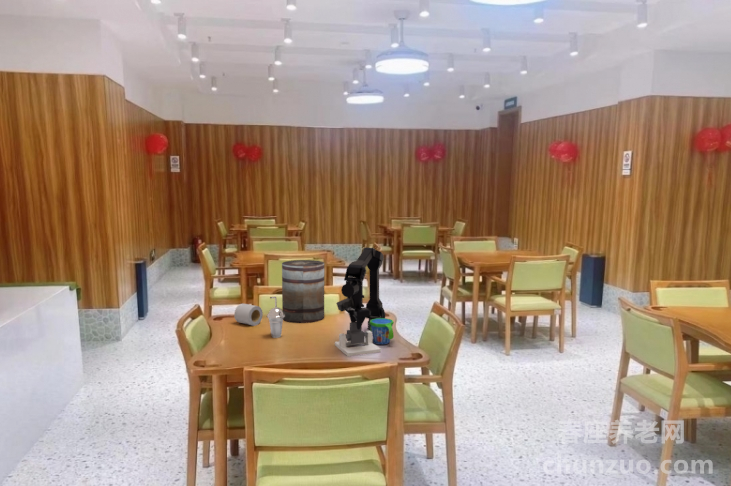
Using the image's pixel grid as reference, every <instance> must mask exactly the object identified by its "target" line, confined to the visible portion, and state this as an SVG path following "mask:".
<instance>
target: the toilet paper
mask: <svg viewBox="0 0 731 486" xmlns="http://www.w3.org/2000/svg"><path fill="white" fill-rule="evenodd" d="M233 316H234V317H233V318H234V320H235V321H236V323H239V324H245V325H248V326H253V327H254V326H258V325H259V324H260V323H261V321H262V319H263V310H262V307H260V306H259V305H254V304H253V305H252V304H248V303H240V304H238V305H237V306H236V308H235V310H234V314H233Z"/></svg>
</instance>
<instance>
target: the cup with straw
mask: <svg viewBox="0 0 731 486" xmlns="http://www.w3.org/2000/svg"><path fill="white" fill-rule="evenodd" d="M269 298H270V299H274V307H273V308H271V309H270V310H269V311H268V313H267V316H266V317H267V318H268V322H269V327H270V335H271V338H273V339H275V338H276V339H279V338H281V337H282V331H283V330H282V329H283V323H284V320H283V318H284V317H285V314H284V313H283V311H282V308H280V307H277V303H278V301H277V296H269Z"/></svg>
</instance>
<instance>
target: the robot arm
mask: <svg viewBox="0 0 731 486" xmlns="http://www.w3.org/2000/svg"><path fill="white" fill-rule="evenodd" d="M362 250H363V251H362V252H361V254H360V255H359V257H357V259H356V260H354V261H352V262H350V263H349V264H348V266H347V267H346V271H345V275H344V279H343V281H345V284H343V285H342V287H341V291H340V292H341V294H342V296H344V297H346V298H344V299H342V300H339V301H337V302H336V306H337V308H338V309H337V310H338V311H340V312H346V313H347V314H348V316H349V319H350V323H351V322H356V324H357V329H358V330H359V329H360V328H361V326H362V327H363V324H364V322H365V320H366V319H368V321H367V328H366V329H367V331H371V330H370V327H371V325H370V320H372V319H376V318H386V312H385V310H384V307H383V306H384V305H383V302H382V301H381V299H380V268H381V267H382V265H383V261H384V253H382V251H380V250H378V249H376V248H374V247H368V246H367V247H363V249H362ZM366 267H367V269H368V270H369V299H368V301H367V302H366V305H365V304H363V299H365V295H364V294H363V287H364V286H363V285H364V284H363V283H364V280H365V277H366V274H367V269H366Z"/></svg>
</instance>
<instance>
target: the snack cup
mask: <svg viewBox="0 0 731 486" xmlns="http://www.w3.org/2000/svg"><path fill="white" fill-rule="evenodd" d="M370 325H371V327H370V330H371V332H372V343H373V344H375V345H387V344H389V343H390V342H391V340H393V339H394V331H393V325H394V320H393V319H390V318H386V317H385V318H376V319H372V320H370Z"/></svg>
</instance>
